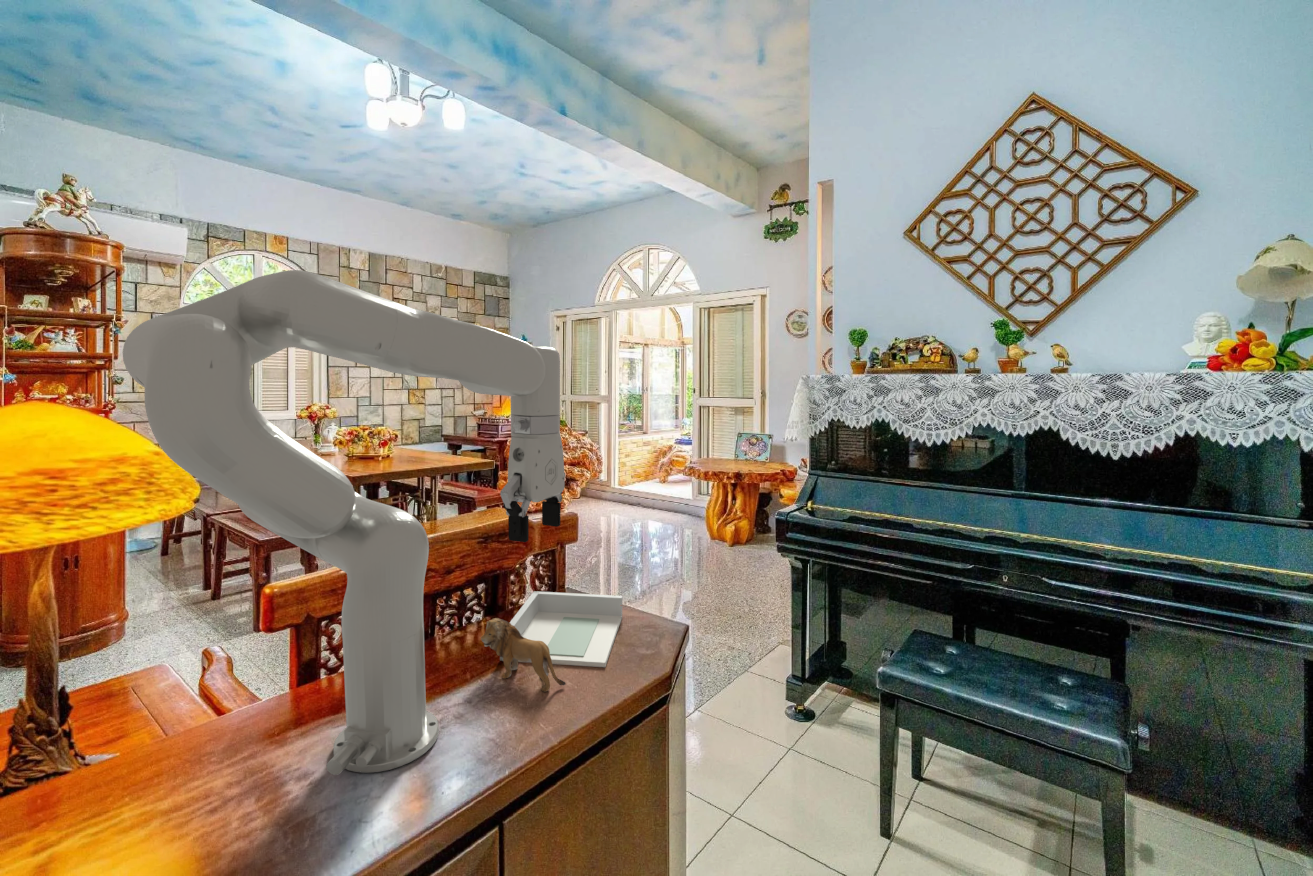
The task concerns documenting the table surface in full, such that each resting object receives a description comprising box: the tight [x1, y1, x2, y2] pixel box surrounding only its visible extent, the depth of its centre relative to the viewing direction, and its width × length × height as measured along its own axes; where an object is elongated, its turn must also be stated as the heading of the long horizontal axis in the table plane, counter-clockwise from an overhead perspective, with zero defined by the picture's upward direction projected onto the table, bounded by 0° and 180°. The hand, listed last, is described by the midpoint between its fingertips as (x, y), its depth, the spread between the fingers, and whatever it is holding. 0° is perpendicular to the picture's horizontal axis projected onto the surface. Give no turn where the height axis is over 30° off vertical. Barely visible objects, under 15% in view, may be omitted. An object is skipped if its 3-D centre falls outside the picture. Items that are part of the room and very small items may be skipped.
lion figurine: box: [480, 617, 566, 693], centre depth 95 cm, size 15×5×9 cm, turn 70°
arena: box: [499, 590, 623, 668], centre depth 109 cm, size 20×18×4 cm
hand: (535, 532), depth 95 cm, fingers open, 9 cm apart
